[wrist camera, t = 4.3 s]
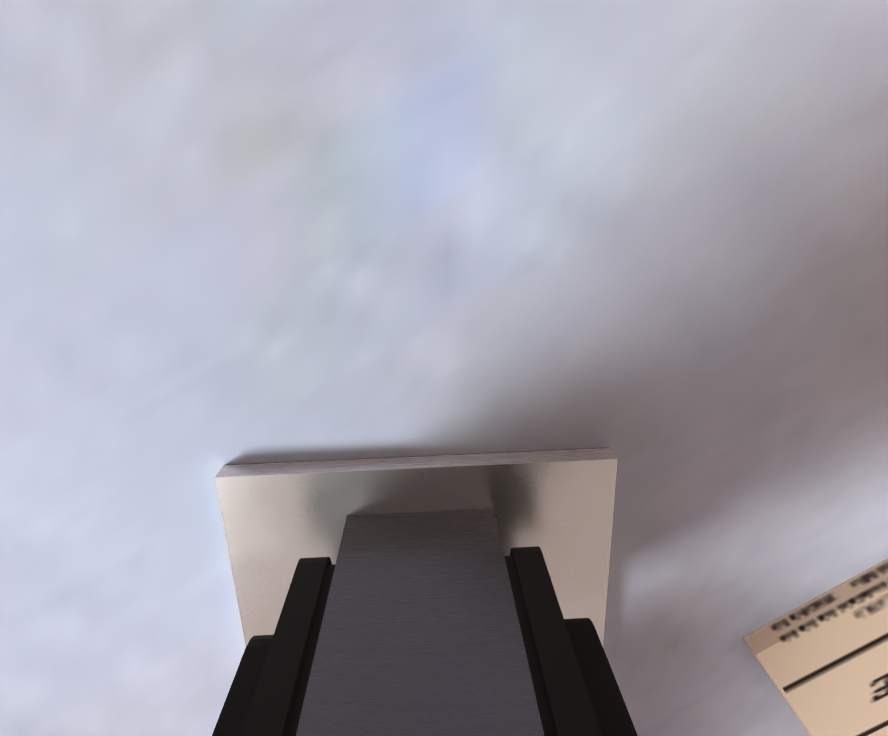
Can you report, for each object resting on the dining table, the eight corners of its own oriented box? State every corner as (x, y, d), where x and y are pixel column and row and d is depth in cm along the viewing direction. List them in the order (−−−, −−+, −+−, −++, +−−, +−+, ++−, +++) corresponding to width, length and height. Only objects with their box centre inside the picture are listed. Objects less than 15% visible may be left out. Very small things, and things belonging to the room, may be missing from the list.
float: (223, 464, 11) (-128, 951, 4) (609, 447, 11) (924, 881, 4) (257, 656, 13) (47, 1248, 6) (595, 637, 13) (808, 1186, 6)
